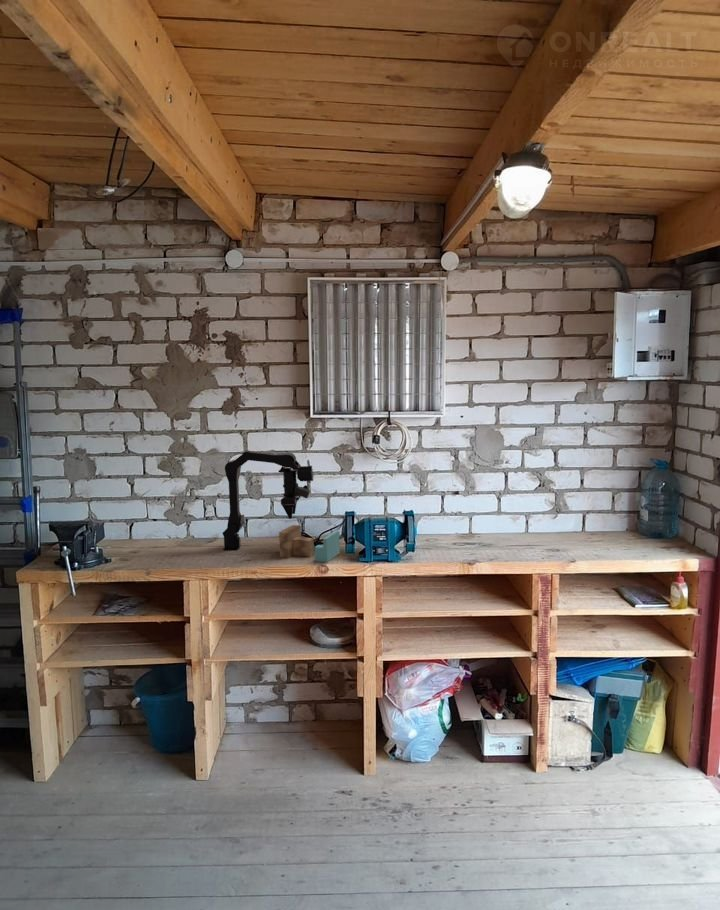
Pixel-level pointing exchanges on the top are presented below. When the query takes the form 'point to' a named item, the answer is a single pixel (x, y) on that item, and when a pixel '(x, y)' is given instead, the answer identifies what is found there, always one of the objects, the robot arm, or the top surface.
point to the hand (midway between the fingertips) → (292, 516)
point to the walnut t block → (295, 543)
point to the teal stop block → (328, 548)
